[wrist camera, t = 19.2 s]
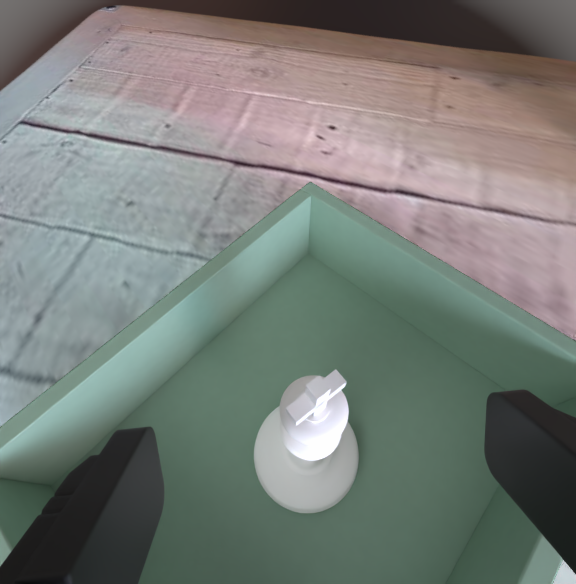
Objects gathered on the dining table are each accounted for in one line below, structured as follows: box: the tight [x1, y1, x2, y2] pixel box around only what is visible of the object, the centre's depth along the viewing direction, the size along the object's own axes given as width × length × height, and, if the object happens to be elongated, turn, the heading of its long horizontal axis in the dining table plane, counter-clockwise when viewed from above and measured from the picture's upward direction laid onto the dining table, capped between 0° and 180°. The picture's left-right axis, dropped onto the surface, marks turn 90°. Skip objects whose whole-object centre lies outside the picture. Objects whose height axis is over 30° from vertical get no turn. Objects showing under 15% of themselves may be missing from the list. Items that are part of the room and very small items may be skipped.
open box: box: [0, 182, 576, 584], centre depth 16 cm, size 20×17×6 cm
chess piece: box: [254, 369, 359, 513], centre depth 13 cm, size 5×5×10 cm
